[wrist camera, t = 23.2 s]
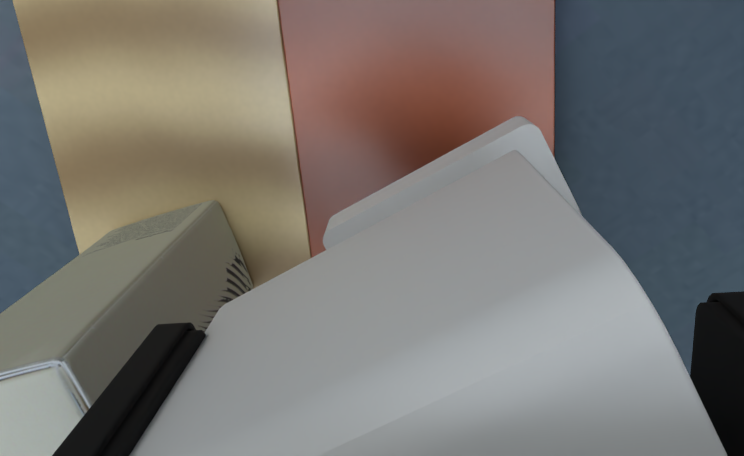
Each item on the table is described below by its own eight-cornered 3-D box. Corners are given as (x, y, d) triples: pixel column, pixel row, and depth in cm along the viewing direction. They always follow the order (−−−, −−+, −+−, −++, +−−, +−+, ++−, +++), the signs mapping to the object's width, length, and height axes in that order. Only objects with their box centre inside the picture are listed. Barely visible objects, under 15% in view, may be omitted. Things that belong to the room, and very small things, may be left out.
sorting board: (549, 289, 27) (553, 299, 26) (107, 314, 29) (97, 324, 28) (550, -419, 19) (557, -441, 18) (-58, -327, 21) (-80, -343, 20)
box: (152, 316, 27) (-50, 559, 15) (109, 226, 26) (-150, 414, 14) (263, 285, 27) (141, 517, 15) (224, 191, 25) (56, 358, 13)
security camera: (263, 233, 16) (62, 552, 6) (515, 95, 14) (743, 228, 5) (386, 422, 17) (375, 904, 8) (623, 312, 16) (953, 730, 7)
